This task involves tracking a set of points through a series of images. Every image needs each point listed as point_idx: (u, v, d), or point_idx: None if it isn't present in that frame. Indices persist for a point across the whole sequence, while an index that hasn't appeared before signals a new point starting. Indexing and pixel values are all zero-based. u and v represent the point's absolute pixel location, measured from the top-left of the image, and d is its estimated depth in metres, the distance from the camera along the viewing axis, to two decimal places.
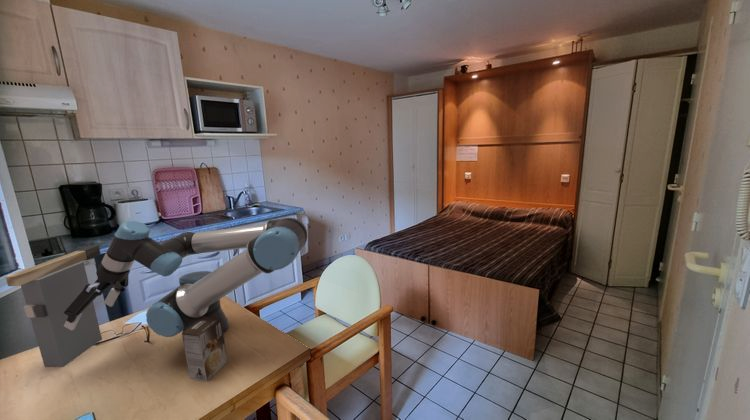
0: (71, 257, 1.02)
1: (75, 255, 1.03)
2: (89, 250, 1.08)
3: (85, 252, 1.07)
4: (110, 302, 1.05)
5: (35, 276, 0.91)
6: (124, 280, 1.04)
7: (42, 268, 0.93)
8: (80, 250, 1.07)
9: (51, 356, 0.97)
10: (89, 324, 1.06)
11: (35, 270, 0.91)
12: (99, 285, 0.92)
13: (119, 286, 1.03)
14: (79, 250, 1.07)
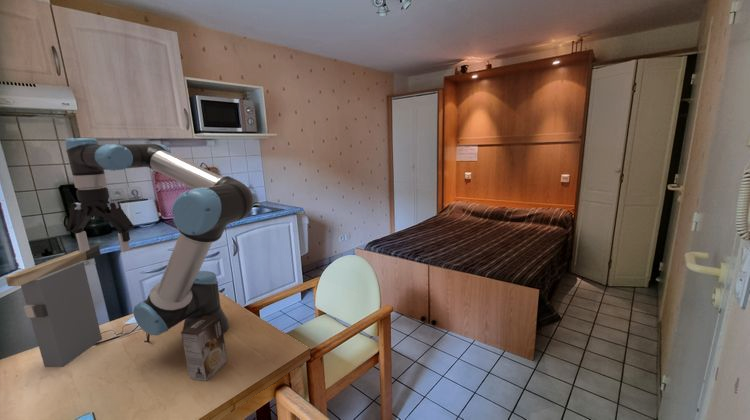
0: (71, 257, 1.02)
1: (75, 255, 1.03)
2: (89, 250, 1.08)
3: (85, 252, 1.07)
4: None
5: (35, 276, 0.91)
6: None
7: (42, 268, 0.93)
8: None
9: (51, 356, 0.97)
10: (89, 324, 1.06)
11: (35, 270, 0.91)
12: (80, 205, 0.97)
13: (112, 223, 0.98)
14: (79, 250, 1.07)
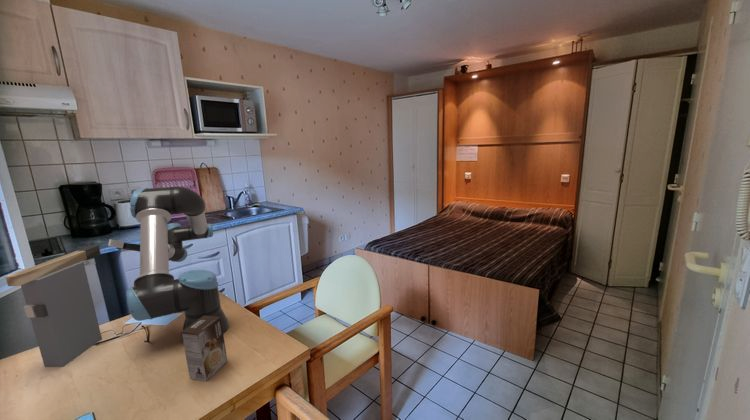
0: (71, 257, 1.02)
1: (75, 255, 1.03)
2: (89, 250, 1.08)
3: (85, 252, 1.07)
4: None
5: (35, 276, 0.91)
6: None
7: (42, 268, 0.93)
8: (80, 250, 1.07)
9: (51, 356, 0.97)
10: (89, 324, 1.06)
11: (35, 270, 0.91)
12: None
13: None
14: (79, 250, 1.07)
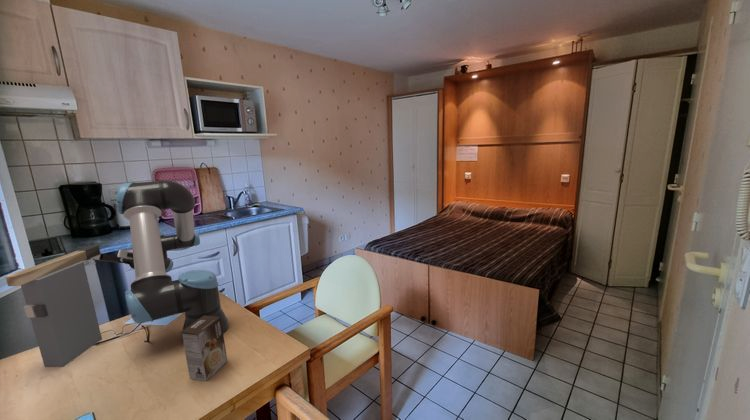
0: (71, 257, 1.02)
1: (75, 255, 1.03)
2: (89, 250, 1.08)
3: (85, 252, 1.07)
4: None
5: (35, 276, 0.91)
6: None
7: (42, 268, 0.93)
8: (80, 250, 1.07)
9: (51, 356, 0.97)
10: (89, 324, 1.06)
11: (35, 270, 0.91)
12: None
13: None
14: (79, 250, 1.07)
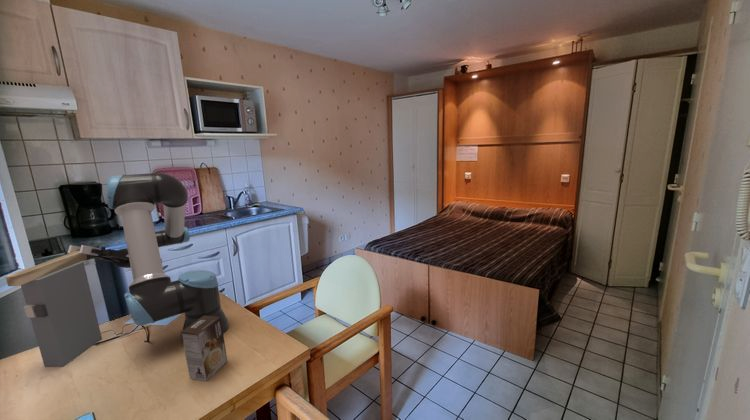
0: (71, 257, 1.02)
1: (75, 255, 1.03)
2: None
3: None
4: None
5: (35, 276, 0.91)
6: None
7: (42, 268, 0.93)
8: None
9: (51, 356, 0.97)
10: (89, 324, 1.06)
11: (35, 270, 0.91)
12: None
13: None
14: (79, 250, 1.07)
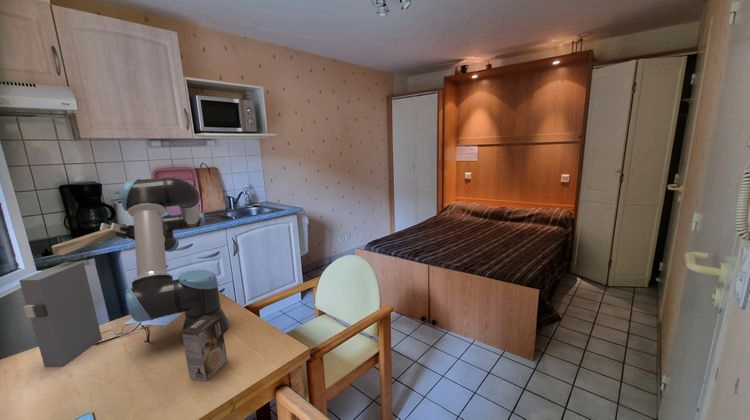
0: (104, 233, 1.14)
1: (107, 231, 1.16)
2: None
3: None
4: None
5: (76, 247, 1.04)
6: None
7: (81, 241, 1.06)
8: (110, 228, 1.19)
9: (51, 356, 0.97)
10: (89, 324, 1.06)
11: (75, 242, 1.04)
12: None
13: None
14: (109, 228, 1.19)
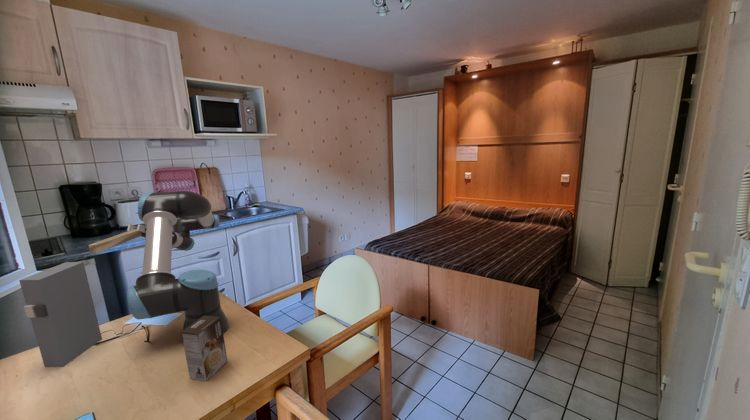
0: (131, 233, 1.27)
1: (134, 232, 1.28)
2: None
3: None
4: None
5: (109, 246, 1.16)
6: None
7: (113, 240, 1.18)
8: (136, 228, 1.31)
9: (51, 356, 0.97)
10: (89, 324, 1.06)
11: (108, 241, 1.16)
12: None
13: None
14: (135, 228, 1.31)
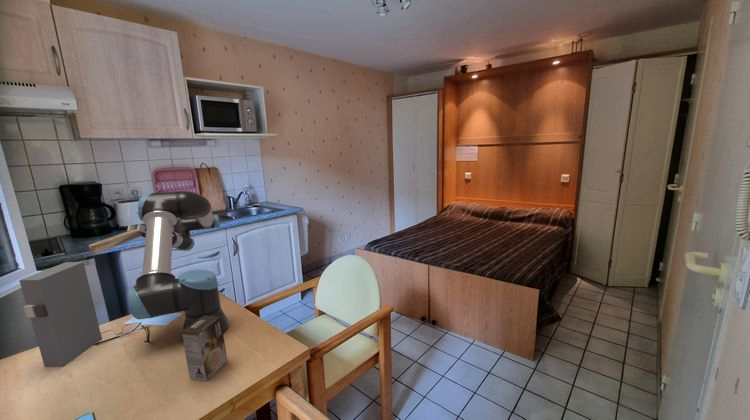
0: (131, 233, 1.27)
1: (134, 232, 1.28)
2: None
3: None
4: None
5: (109, 246, 1.16)
6: None
7: (113, 240, 1.18)
8: (136, 228, 1.31)
9: (51, 356, 0.97)
10: (89, 324, 1.06)
11: (108, 241, 1.16)
12: None
13: None
14: (135, 228, 1.31)
